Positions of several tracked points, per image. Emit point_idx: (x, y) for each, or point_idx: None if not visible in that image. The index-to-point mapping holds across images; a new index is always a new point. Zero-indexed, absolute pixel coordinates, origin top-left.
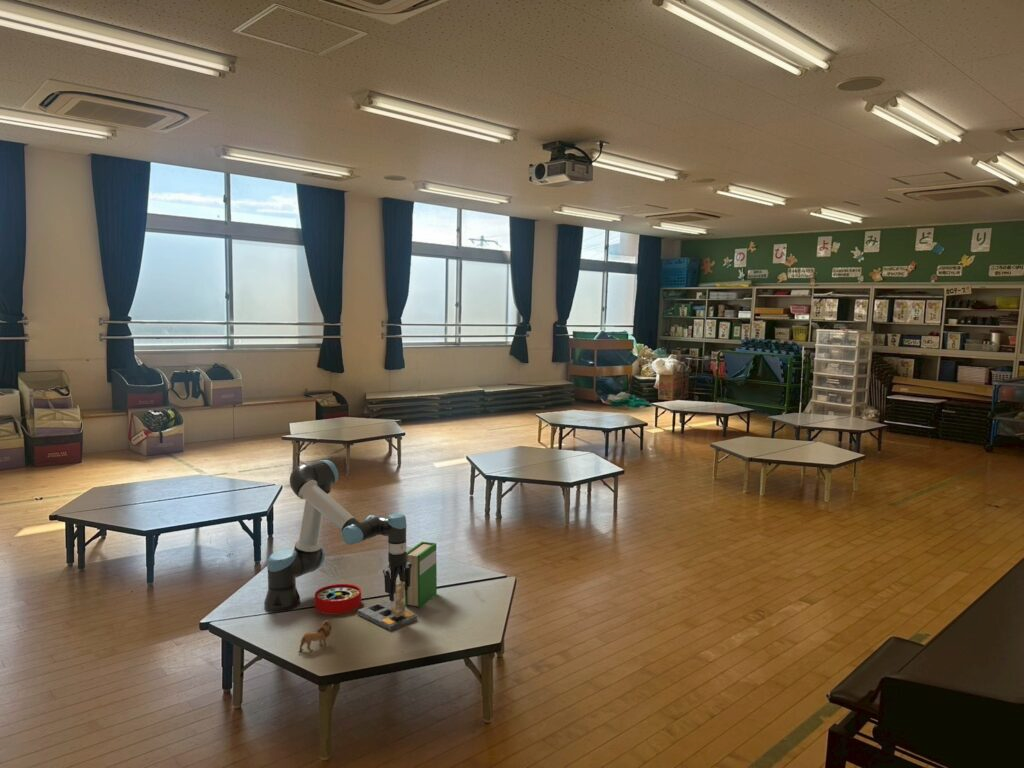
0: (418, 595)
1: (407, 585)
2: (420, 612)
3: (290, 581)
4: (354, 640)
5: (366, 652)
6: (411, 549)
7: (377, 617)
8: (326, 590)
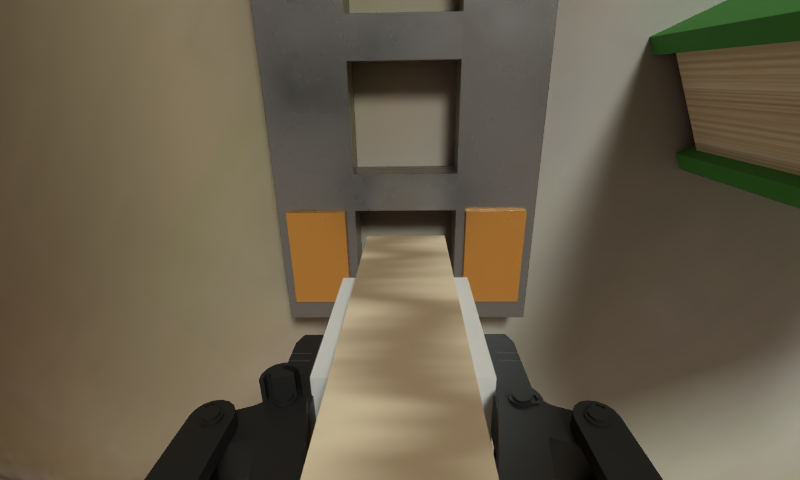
0: (761, 182)
1: (564, 474)
2: (625, 223)
3: None
4: (61, 249)
5: (77, 395)
6: None
7: (296, 138)
8: None
